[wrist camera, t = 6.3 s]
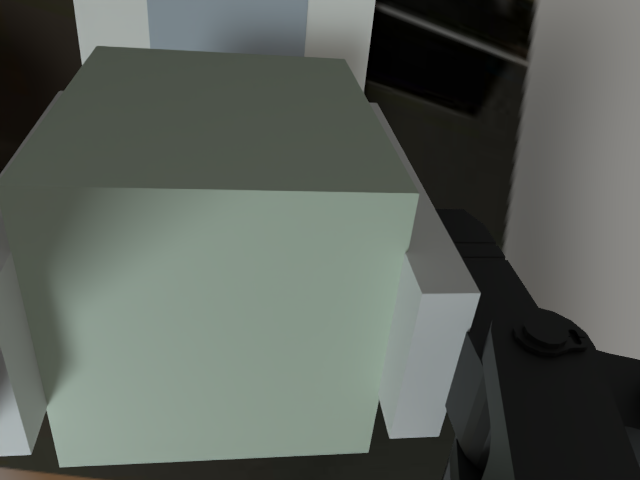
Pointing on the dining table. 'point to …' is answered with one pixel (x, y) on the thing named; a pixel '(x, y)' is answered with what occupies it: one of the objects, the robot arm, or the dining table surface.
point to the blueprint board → (232, 27)
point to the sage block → (208, 256)
